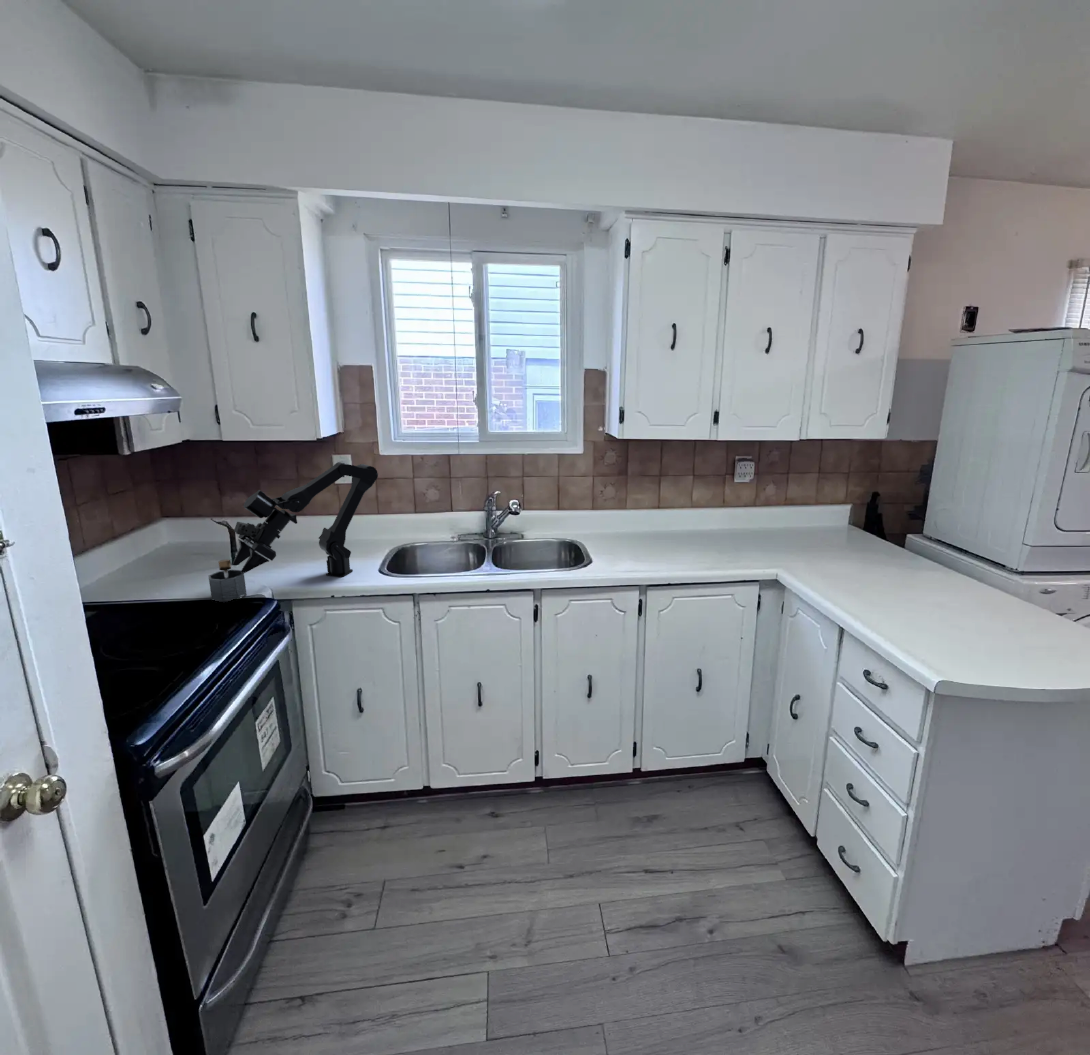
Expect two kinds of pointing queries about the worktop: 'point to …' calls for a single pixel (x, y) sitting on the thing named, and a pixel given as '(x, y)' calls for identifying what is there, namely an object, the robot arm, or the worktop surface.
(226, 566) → the plunger
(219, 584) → the grey octagonal pot
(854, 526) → the worktop surface
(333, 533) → the robot arm
